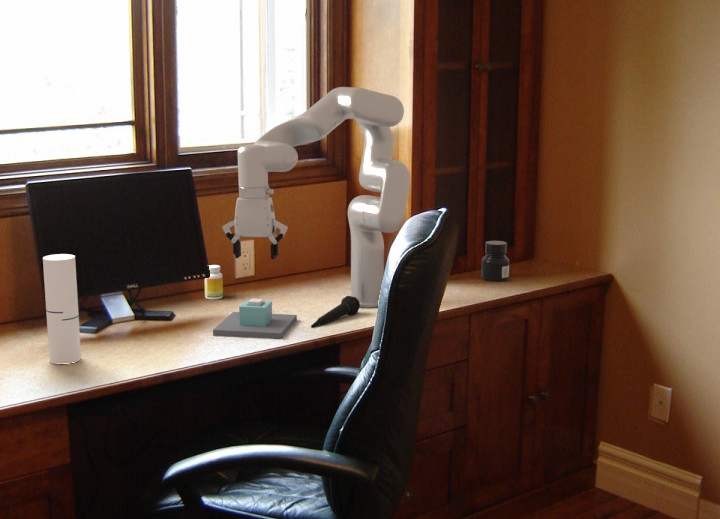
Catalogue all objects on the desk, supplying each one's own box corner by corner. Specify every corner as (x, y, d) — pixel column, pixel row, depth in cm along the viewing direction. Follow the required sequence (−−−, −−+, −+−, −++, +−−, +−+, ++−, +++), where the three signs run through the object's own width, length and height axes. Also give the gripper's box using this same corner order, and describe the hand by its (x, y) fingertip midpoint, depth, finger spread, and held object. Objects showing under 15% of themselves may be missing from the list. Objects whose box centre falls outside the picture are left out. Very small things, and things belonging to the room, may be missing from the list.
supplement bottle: (201, 297, 288) (200, 265, 286) (217, 294, 292) (216, 263, 290) (210, 300, 284) (210, 269, 282) (226, 298, 288) (225, 266, 286)
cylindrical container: (53, 356, 232) (46, 254, 227) (83, 355, 233) (77, 253, 227) (46, 365, 225) (39, 260, 220) (77, 364, 226) (71, 260, 220)
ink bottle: (510, 282, 309) (511, 245, 306) (482, 282, 309) (484, 245, 306) (506, 275, 318) (507, 239, 316) (479, 275, 318) (480, 239, 316)
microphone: (317, 340, 257) (361, 315, 272) (321, 322, 254) (365, 297, 269) (302, 330, 259) (346, 306, 274) (305, 313, 257) (350, 289, 272)
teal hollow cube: (272, 319, 259) (271, 301, 258) (265, 326, 252) (265, 307, 251) (247, 318, 260) (246, 300, 259) (239, 325, 254) (239, 306, 253)
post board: (296, 320, 264) (296, 293, 262) (280, 338, 247) (280, 310, 245) (233, 317, 267) (232, 290, 265) (213, 335, 249) (212, 307, 248)
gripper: (289, 191, 251) (291, 255, 255) (225, 190, 254) (228, 253, 258) (282, 195, 244) (284, 261, 248) (217, 194, 247) (219, 260, 251)
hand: (255, 257), depth 253 cm, fingers open, 9 cm apart
